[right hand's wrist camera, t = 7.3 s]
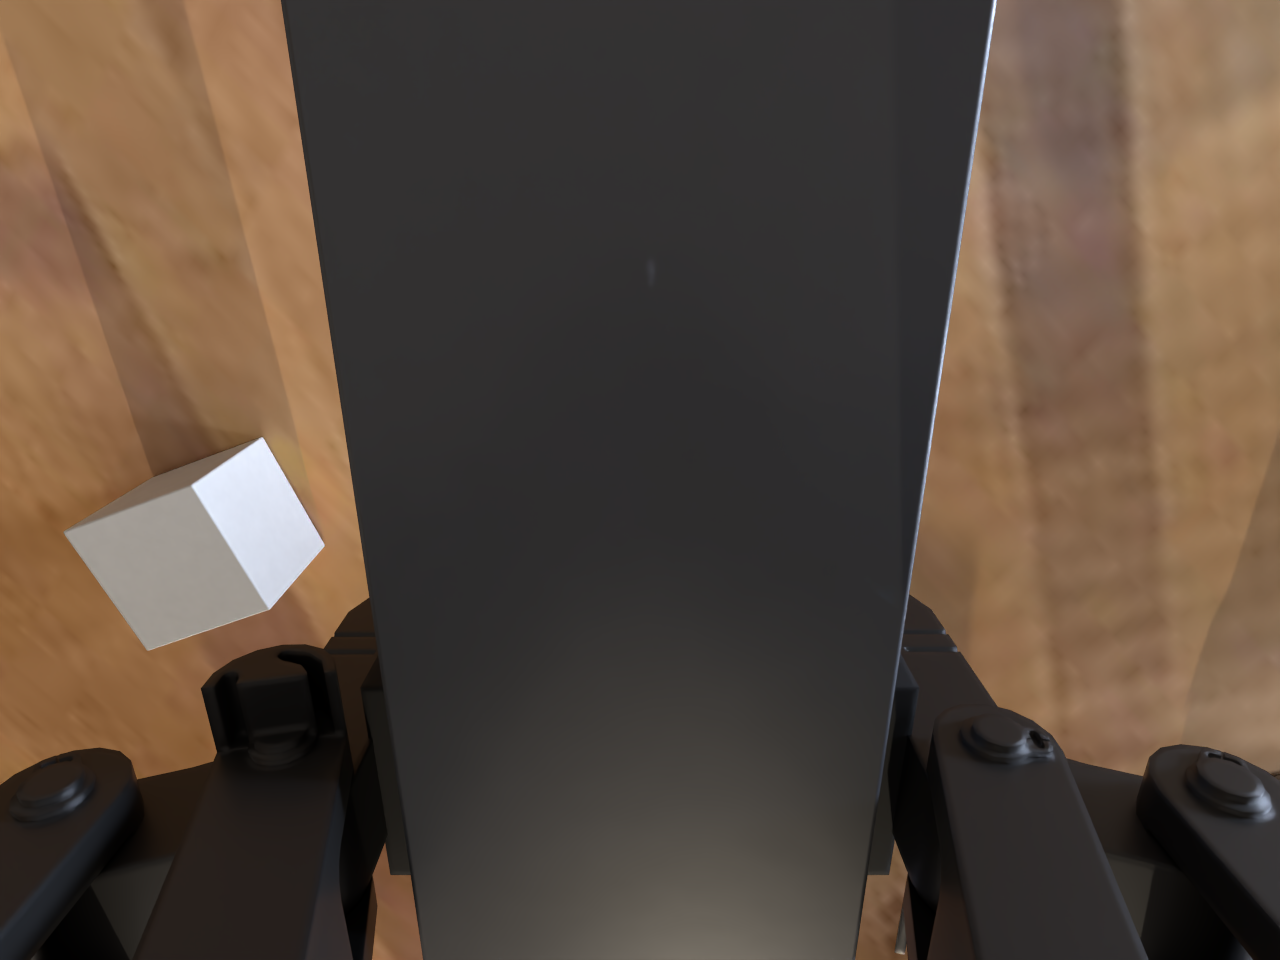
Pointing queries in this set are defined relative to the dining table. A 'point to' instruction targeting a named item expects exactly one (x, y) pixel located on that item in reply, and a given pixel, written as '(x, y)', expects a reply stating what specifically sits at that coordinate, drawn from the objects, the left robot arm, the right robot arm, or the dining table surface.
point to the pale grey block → (199, 544)
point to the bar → (638, 440)
